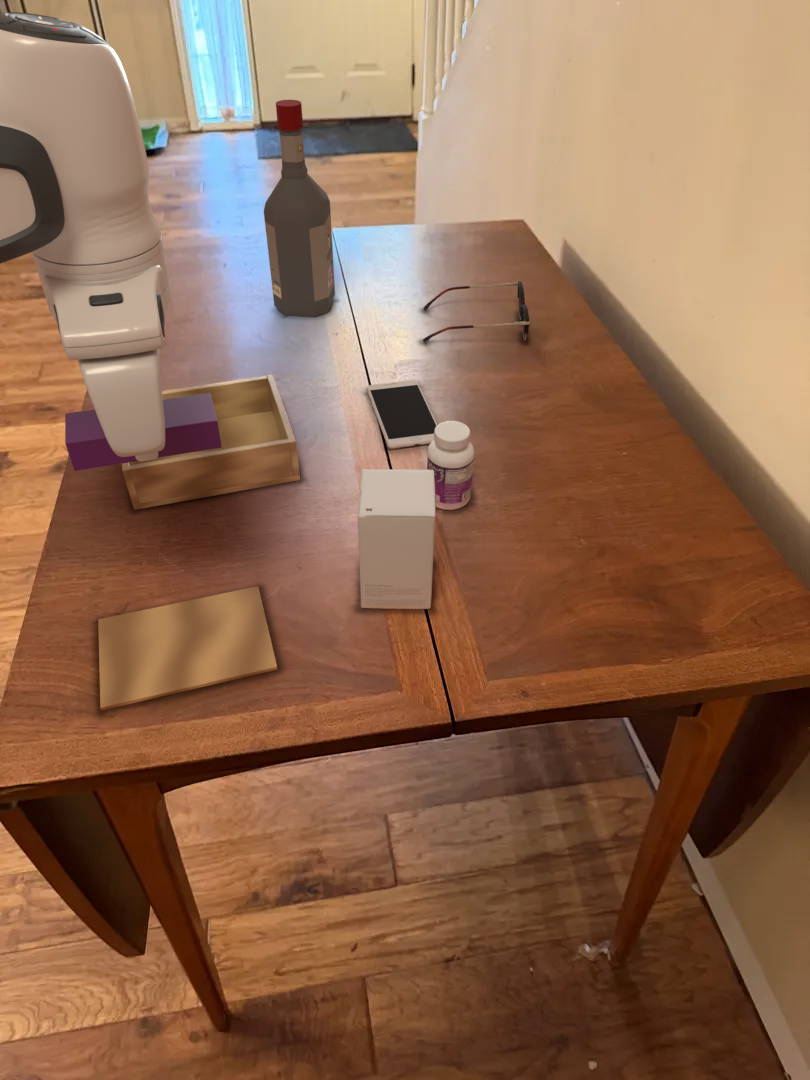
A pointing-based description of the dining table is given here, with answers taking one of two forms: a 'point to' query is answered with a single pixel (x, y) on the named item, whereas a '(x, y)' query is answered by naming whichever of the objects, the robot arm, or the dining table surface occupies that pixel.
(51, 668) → the dining table surface
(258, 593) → the wooden board
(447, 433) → the pill bottle
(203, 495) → the open wooden box
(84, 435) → the purple rectangular block
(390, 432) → the smartphone
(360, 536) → the white packaging box
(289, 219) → the liquor
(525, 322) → the sunglasses
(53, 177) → the robot arm
